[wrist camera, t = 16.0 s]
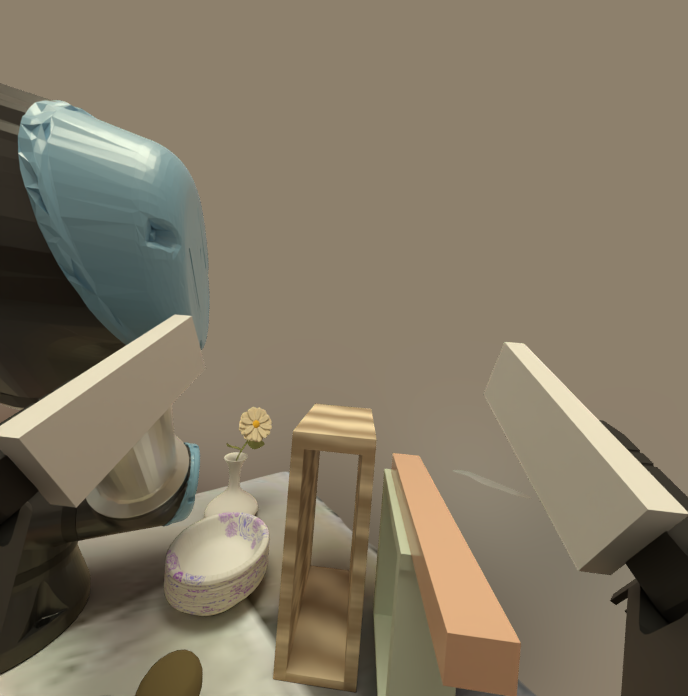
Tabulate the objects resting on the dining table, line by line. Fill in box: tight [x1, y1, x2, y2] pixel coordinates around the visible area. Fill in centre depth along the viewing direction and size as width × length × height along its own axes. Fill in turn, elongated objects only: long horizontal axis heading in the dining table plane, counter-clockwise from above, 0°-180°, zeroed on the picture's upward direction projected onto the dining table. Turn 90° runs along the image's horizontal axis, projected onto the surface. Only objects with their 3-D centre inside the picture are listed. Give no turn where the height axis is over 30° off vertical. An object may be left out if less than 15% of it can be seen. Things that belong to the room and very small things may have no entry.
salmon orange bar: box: [391, 453, 521, 696], centre depth 28 cm, size 26×4×3 cm, turn 176°
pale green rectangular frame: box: [373, 469, 456, 696], centre depth 33 cm, size 18×6×22 cm, turn 176°
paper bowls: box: [164, 512, 270, 616], centre depth 44 cm, size 15×15×8 cm
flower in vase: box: [204, 407, 272, 518], centre depth 62 cm, size 13×11×25 cm
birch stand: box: [273, 404, 376, 692], centre depth 40 cm, size 16×10×30 cm, turn 176°
